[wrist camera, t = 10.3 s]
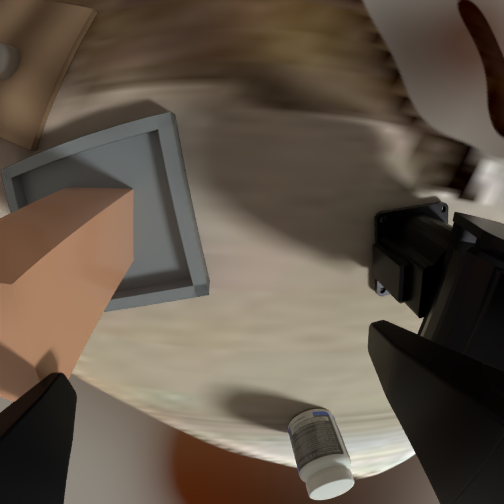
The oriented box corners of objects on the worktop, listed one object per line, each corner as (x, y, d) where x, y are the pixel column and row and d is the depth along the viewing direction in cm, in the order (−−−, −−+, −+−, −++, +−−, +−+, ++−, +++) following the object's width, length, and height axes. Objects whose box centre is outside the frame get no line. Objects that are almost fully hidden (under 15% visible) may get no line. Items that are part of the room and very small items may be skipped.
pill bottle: (277, 428, 28) (292, 499, 20) (312, 401, 27) (336, 474, 19) (309, 440, 29) (328, 504, 21) (342, 415, 28) (369, 480, 20)
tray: (174, 114, 17) (169, 111, 15) (209, 280, 21) (209, 294, 20) (16, 165, 17) (0, 169, 15) (60, 305, 21) (50, 319, 19)
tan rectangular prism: (133, 188, 18) (11, 284, 6) (133, 260, 19) (52, 413, 8) (44, 187, 17) (-104, 262, 5) (49, 253, 19) (-66, 369, 7)
